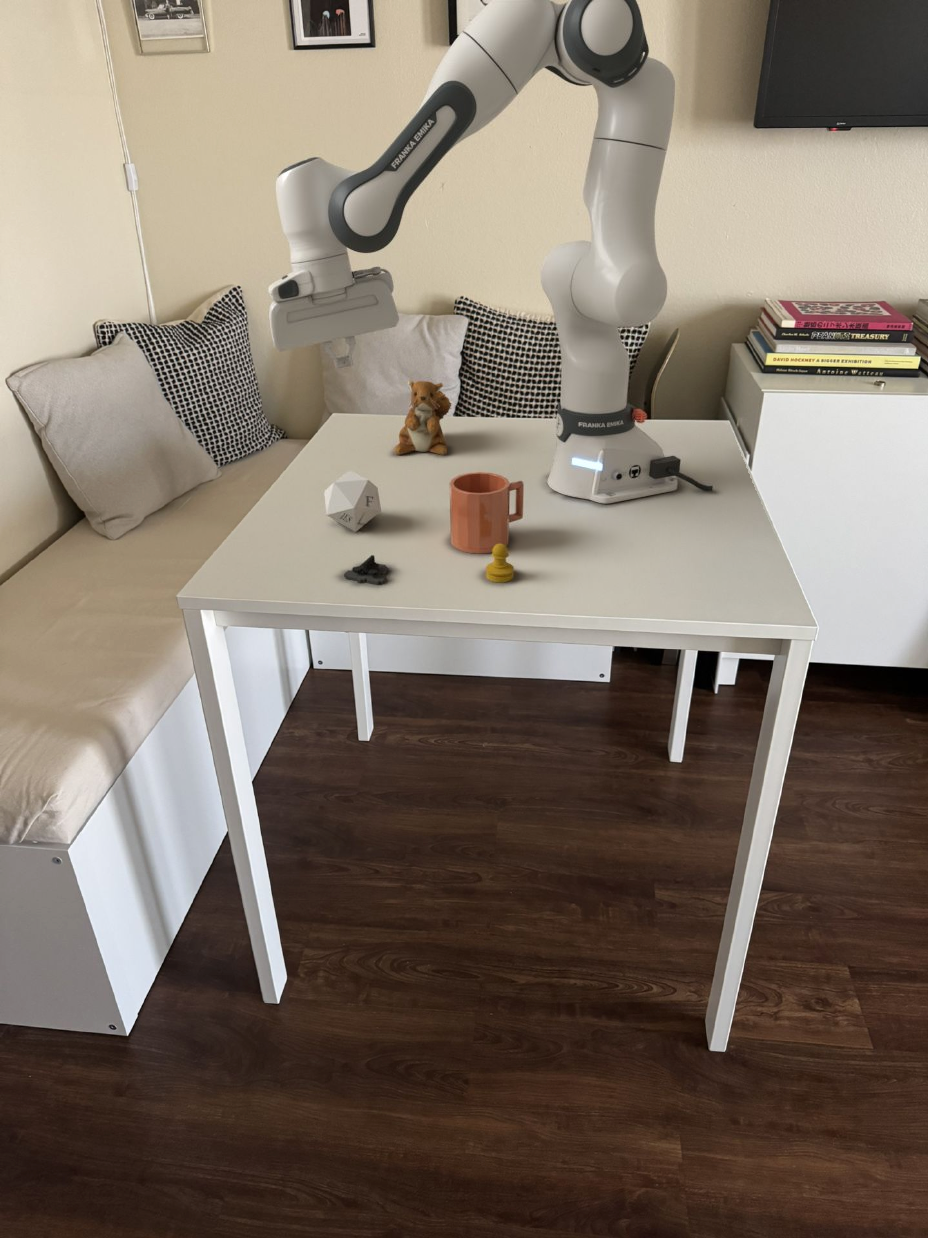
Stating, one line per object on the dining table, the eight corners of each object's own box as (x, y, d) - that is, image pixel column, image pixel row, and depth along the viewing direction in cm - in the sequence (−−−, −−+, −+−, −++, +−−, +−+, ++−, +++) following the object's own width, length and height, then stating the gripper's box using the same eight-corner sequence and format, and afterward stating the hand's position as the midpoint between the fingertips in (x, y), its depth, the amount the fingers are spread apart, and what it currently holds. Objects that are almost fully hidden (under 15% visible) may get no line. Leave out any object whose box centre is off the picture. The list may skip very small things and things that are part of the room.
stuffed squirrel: (392, 456, 170) (389, 387, 164) (407, 432, 182) (404, 367, 176) (444, 458, 169) (443, 389, 162) (455, 434, 181) (454, 369, 174)
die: (324, 541, 140) (356, 498, 134) (305, 498, 143) (335, 454, 138) (368, 544, 146) (400, 503, 140) (348, 503, 149) (379, 461, 143)
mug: (471, 558, 132) (471, 498, 128) (440, 537, 139) (438, 479, 134) (538, 538, 138) (540, 480, 133) (505, 519, 145) (506, 463, 140)
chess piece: (494, 567, 130) (494, 536, 127) (518, 573, 128) (519, 541, 126) (480, 578, 127) (480, 546, 124) (505, 584, 125) (505, 552, 123)
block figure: (395, 554, 128) (378, 571, 124) (396, 569, 130) (379, 586, 125) (358, 548, 130) (340, 564, 126) (359, 562, 132) (341, 579, 127)
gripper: (386, 262, 142) (403, 350, 149) (258, 288, 140) (282, 377, 146) (392, 264, 137) (410, 356, 143) (260, 292, 134) (284, 384, 140)
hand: (344, 367), depth 145 cm, fingers closed
